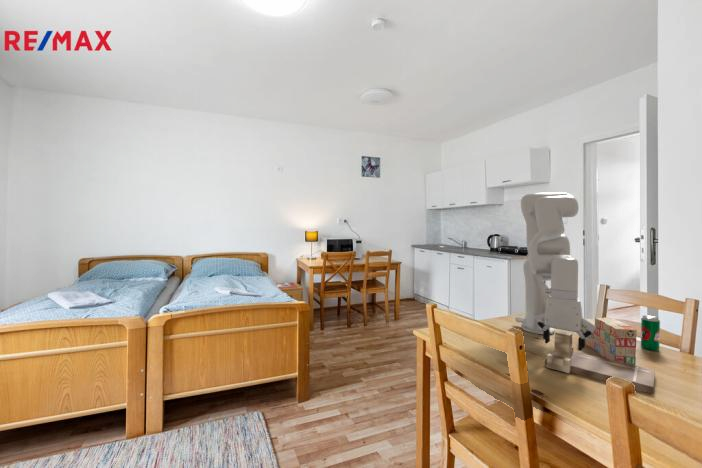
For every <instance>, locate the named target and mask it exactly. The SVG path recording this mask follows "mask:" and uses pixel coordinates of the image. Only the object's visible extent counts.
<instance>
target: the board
mask: <svg viewBox="0 0 702 468" xmlns="http://www.w3.org/2000/svg"><path fill="white" fill-rule="evenodd" d="M555 353H556V352H554V349H553V350H552V351H551V352H550V354H552V355H554V354H555ZM569 359H570V372H569V373H573V374H577V375H580V376H584V377H587V378H588V377H589V378H592V379H595V380H598V381H602V380H603V381H602V382H606V380H607V379H608V378H610V377H612V376H617V377H620V378H623V379H626V380H628V381H631V382H632V383H633V384H634V385H635V389H634V390H637V391H639V392H644V393H647V394H651V395H653V394H654V390H655V381H656V380H655V379H656V369H651V368H648V367H643V366H639V365H636V364H635V365H631V364H626V363H622V362H617V361H613V360H609V359H607V358H605V357H598V356H596V355H590V354H587V353H582V352H578V351H574V350H573V353H572V355H571V356H570V357H569ZM545 366H547V357H546V358H545Z"/></svg>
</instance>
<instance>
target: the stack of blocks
mask: <svg viewBox="0 0 702 468" xmlns="http://www.w3.org/2000/svg"><path fill="white" fill-rule="evenodd" d="M584 319H585V320H587V321H588V322H590V323H592V324H593V325H595V326H596V329H595V330H594V331H593V332H592V334H591V335H589V336H588V337H586V338H585V345H586V346H588V347H589V348H591V349H592V350H594V351H595V352H597V353H598V354H599V355H601V356H603V358H604V359H609V360H613V361H617V362H622V363H626V364H631V365H635V366H636V361H637V357H636V353H637V350H636V349H637V334H638V333H637V331H638V329H636V328H634V327H632V326H630V325H628V324H627V323H625V322H622V321H620V320H618V319H616V318H614V317H613V318H611V317H610V318H609V317H595V318H584ZM582 330H583V331H584V332H586V331H588V330H589V327H587V326H586V325H584V324H583V327H582Z"/></svg>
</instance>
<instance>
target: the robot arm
mask: <svg viewBox="0 0 702 468" xmlns="http://www.w3.org/2000/svg"><path fill="white" fill-rule="evenodd" d="M579 208H580V207H579V202H578V200H577V198H576V197H575V196H574V195H572V194H571V193H567V192H562V191H561V192H560V191H559V192H557V191H556V192H534V193H533V192H532V193H527V194H525V195H523V196H522V197H521V199H520V209H521V213H522V216H523V218H524V220H525V224H526V225H525V228H526V249H527V255H528V256H527V258H528V259H526V260H525V261H524V263H523V266H522V267H523V275H524V282H525V283H524V287H525V298H524V299H525V302H524V303H525V311H524V313H525V314H524V317H521V316H520V317H519V316H515V317H514V318H515V322H516V323H521V326H520V327H521V329H522V330H523V331H525V332H528V333H530V334H531V333H532V334H536V335H543V338H542V340H544V343H545V344H548V343H549V342H551V339H550V337H551V335H552V334H555V329H557V330H560V331H565V332H571V333H576V334H577V335H578V336H579V337H578V342H577V343H578V344H577V348H578V349H577V350H578V351H579V352H581V351H582V350H583V349H585V348H586V343H585V338H586V337H588V336H589V335H591V334H592V332H593V331H594V330H595V329H596V326H595V325H593V324H592V323H590V322H588V321H587V320H585V319H586V318H583V317H584V316H583V308H582V303H581V300H580V299H579V297H578V296H579V261H578V259H576V258H575V257H573V256H572V255H571V246H570V240H569V238H568V236H567V235H566V234H564V233H565V231H566V230H565V225H564V220H563V218H573V217H576V216H577V214H578V213H579ZM545 281H546V282H547V281H550V287H549V286H548V285H547V284H546V283H545ZM583 324H584V325H586V326H587V327H589V330H588V331H586V332H584V331H583V330H582V327H583Z"/></svg>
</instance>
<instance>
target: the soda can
mask: <svg viewBox="0 0 702 468" xmlns="http://www.w3.org/2000/svg"><path fill="white" fill-rule="evenodd" d="M640 321H641V322H640V347H641V349H644V350H647V351H650V352H658V351H659V350H660V343H661V341H660V336H661V335H660V333H661V329H660V328H661V320H660V319H659V317H657V316H654V315H649V314H648V315H642V317H641V319H640Z"/></svg>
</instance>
